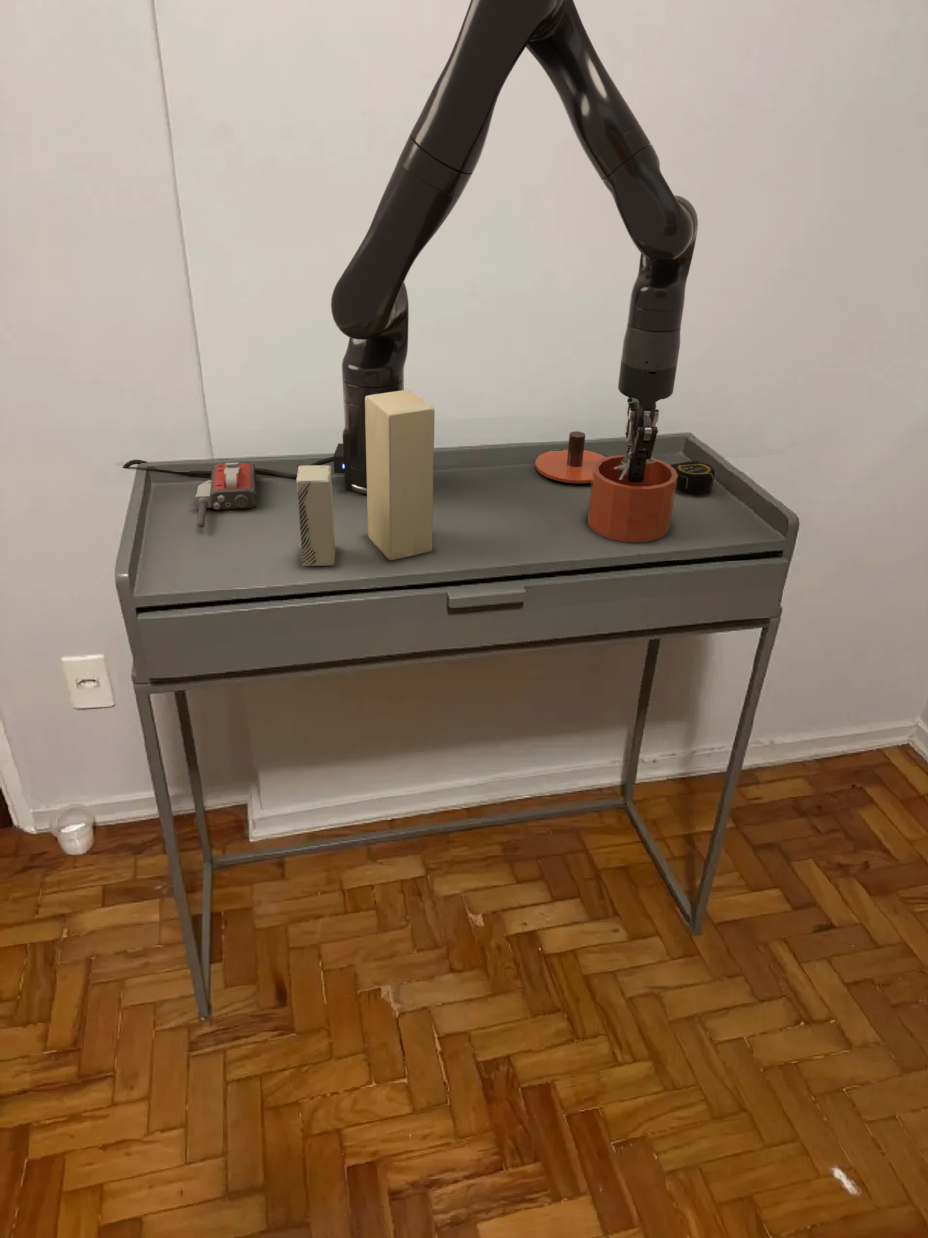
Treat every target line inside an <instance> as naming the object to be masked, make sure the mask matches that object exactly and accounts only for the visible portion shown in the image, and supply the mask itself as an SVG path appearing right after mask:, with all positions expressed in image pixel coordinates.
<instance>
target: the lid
mask: <svg viewBox="0 0 928 1238" xmlns="http://www.w3.org/2000/svg"><path fill="white" fill-rule="evenodd" d="M585 443H586V433H584V432H583V431H579V430H577V431H576V430H575V431H571V432H569V434H568V445H567V449H568V450H563V451H552V450H549V451H546V452H544V453H541V454H540V455H538V456H537V458H536V459H535V462H534V463H535V464H534V466H535V469H536V471H537V473H539V474H541V476H544V477H546V478H547V479H551V480H554V481H558V482H562V483H567V484H591V480H592V471H593V466H594V465H595V464H596V462H597V461H598V460H601V459H604V458H606V457H607V456H605V455H603V454H600V453H598V452H594V451H590V450H587V449H586V450H585Z"/></svg>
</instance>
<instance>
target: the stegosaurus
mask: <svg viewBox="0 0 928 1238" xmlns="http://www.w3.org/2000/svg"><path fill="white" fill-rule="evenodd" d="M629 448H630V447H629ZM639 450H640V449H639ZM644 450H645V449H644ZM630 451H631V448H630ZM630 451H629V453H628V458H627V456H626V455H627V454H623V455H624V459H623V460H624V462H623V461H622V460H621V464H619V465H618V467H615V468H614V469H618V470H623V473H622V475H621V477H620V478H619V479H620V480H622V479H623V477H624V476H625V475H628V470H629V462H630ZM652 458H653V459H654V458H655V457H652ZM655 459H656V458H655ZM655 459H654V460H655ZM655 462H657V461H654V462H653V460H652V461H651V459H650V460H649V459H646V464H653V463H655Z"/></svg>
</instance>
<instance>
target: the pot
mask: <svg viewBox="0 0 928 1238" xmlns="http://www.w3.org/2000/svg"><path fill="white" fill-rule="evenodd" d="M624 455H626V456H627V454H617V455H610V456H605V457H606V458H604V459H601V460H598V461H597V462H596V464H595V465H594V466H593V471H592V480H591V483H590V491H589V500H588V508H587V509H588V510H587V523H588V526H589V528H591V530H593V531H594V532H595V533H597V534H598V535H600V536H602V537H604V538H608V539H610V540H614V541H618V542H623V543H624V542H625V543H648V542H653V541H656V540H659V539H661V538H663V537H664V536H665V535H667V533H668V532H669V530H670V526H671V522H672V515H673V509H674V503H675V496H676V490H677V488H676V485H677V479H678V475H677V473H676V470H675V469H674V468H673V467H671V466H670V465H671V464H669V463H667V462H665V461H663V460H660V459H657V458H656V457H651V461H652V460H653V462H654V461H657V462H655V463H653V464H646V466H645V473H644V480H643V481H642V482H629V481H628V475H625V476H624V477H623V479H622V480H620V479H619V478H620V477H621V475H622V473H623V470H618V469H614V468H615V467H618V465H619V464H621V460H622V461H623V462H624V460H623V459H624ZM653 458H654V459H655V460H654V459H653ZM649 460H650V459H649Z"/></svg>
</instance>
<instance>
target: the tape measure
mask: <svg viewBox="0 0 928 1238" xmlns="http://www.w3.org/2000/svg"><path fill="white" fill-rule="evenodd" d="M669 465H670V466H671V467H673V468H674V469H675V470H676V473H677V475H678V479H677V485H676V490H677V489H678V490H679V491H683V492H686V493H702V492H703V493H704V492H706V491H709V490H711V489H712V488H713V486H714V482H715V476H716V475H715V474H716V471H715V468H714V467H713V466H712V465H711V464H709V463H705V462H701V461H697V460H690V461H683V462H679V463H672V464H669Z"/></svg>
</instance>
